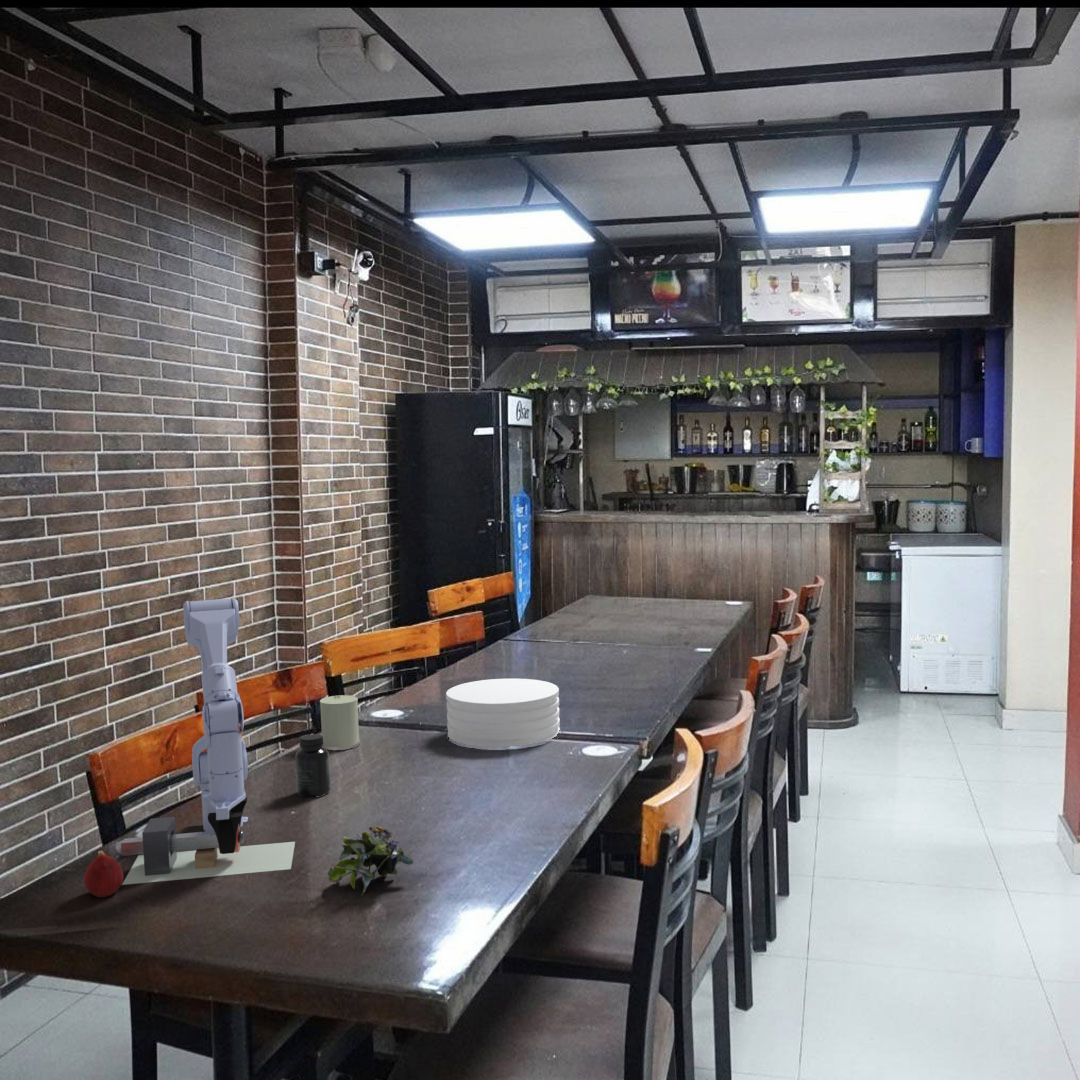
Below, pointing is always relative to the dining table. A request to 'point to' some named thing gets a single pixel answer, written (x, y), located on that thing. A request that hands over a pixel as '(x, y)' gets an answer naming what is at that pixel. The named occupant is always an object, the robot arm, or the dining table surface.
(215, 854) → the brown rectangular block
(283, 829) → the dining table surface
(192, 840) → the rod
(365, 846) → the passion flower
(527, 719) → the plate stack
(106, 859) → the red kuri squash
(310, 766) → the supplement bottle
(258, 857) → the board
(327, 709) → the can
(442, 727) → the dining table surface
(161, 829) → the block
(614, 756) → the dining table surface
